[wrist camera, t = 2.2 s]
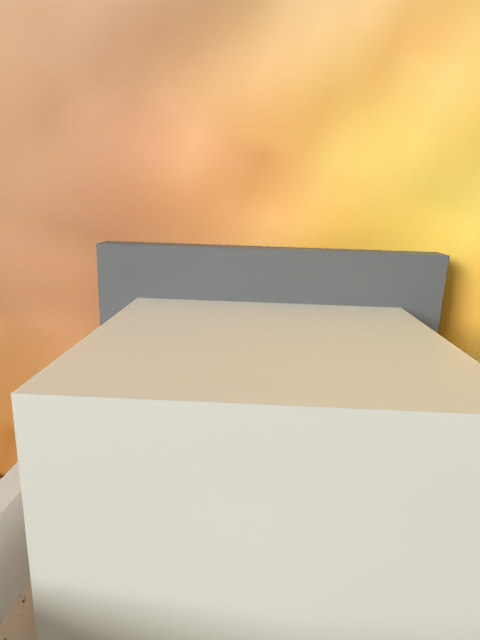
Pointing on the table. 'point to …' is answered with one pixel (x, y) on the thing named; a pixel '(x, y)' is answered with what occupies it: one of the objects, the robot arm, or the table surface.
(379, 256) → the board
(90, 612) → the block
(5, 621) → the teacup with lid
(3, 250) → the table surface
